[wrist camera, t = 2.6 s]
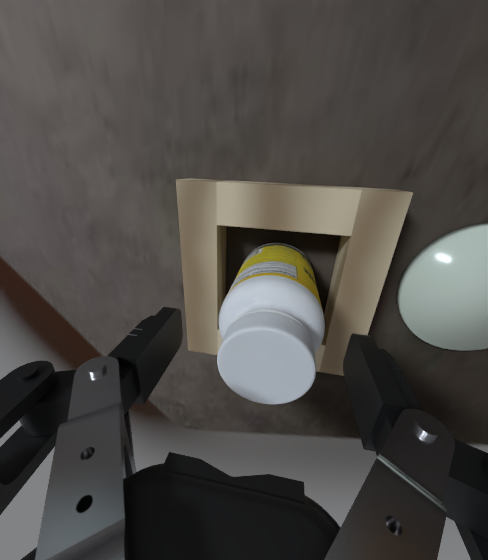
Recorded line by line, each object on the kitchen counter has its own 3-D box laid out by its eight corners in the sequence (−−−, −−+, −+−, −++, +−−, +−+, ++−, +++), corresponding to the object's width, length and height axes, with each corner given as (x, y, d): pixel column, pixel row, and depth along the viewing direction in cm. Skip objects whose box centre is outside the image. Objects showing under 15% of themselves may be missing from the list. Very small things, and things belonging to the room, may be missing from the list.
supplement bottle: (310, 308, 19) (325, 426, 10) (242, 303, 20) (204, 407, 11) (317, 241, 17) (345, 318, 8) (241, 239, 18) (190, 306, 9)
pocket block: (394, 189, 15) (413, 192, 12) (346, 354, 20) (353, 377, 18) (191, 178, 16) (176, 179, 14) (198, 332, 22) (188, 350, 20)
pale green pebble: (594, 228, 14) (611, 231, 13) (512, 351, 17) (522, 359, 17) (421, 216, 15) (428, 219, 14) (380, 333, 19) (384, 340, 18)
